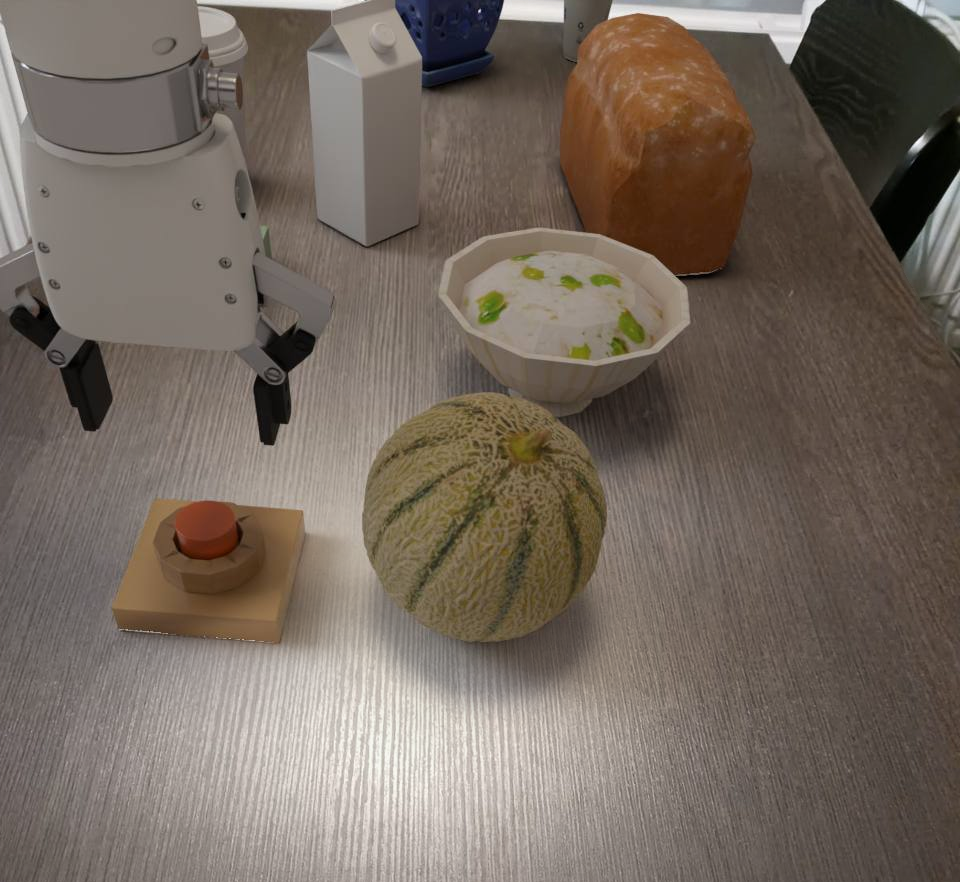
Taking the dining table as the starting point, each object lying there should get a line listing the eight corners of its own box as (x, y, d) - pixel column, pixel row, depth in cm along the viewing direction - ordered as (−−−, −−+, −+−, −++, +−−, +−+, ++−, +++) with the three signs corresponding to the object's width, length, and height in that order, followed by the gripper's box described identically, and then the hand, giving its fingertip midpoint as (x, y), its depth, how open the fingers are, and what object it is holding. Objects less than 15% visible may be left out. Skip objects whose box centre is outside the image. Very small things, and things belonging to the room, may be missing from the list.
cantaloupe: (383, 511, 69) (382, 323, 57) (589, 537, 68) (628, 353, 57) (343, 674, 59) (331, 487, 48) (582, 704, 59) (627, 523, 47)
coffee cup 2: (617, 59, 127) (631, -30, 120) (583, 71, 124) (596, -19, 116) (577, 43, 130) (588, -45, 123) (543, 54, 127) (552, -35, 119)
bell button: (173, 558, 59) (167, 537, 58) (187, 518, 62) (182, 497, 60) (231, 563, 60) (228, 542, 58) (243, 523, 62) (240, 502, 60)
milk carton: (316, 220, 95) (302, -3, 80) (370, 198, 98) (366, -19, 84) (366, 249, 92) (361, 23, 77) (419, 225, 95) (424, 5, 81)
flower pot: (355, 63, 121) (352, -51, 112) (436, 42, 127) (439, -67, 118) (425, 100, 115) (427, -16, 106) (505, 76, 121) (514, -35, 112)
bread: (595, 280, 91) (626, 102, 79) (550, 155, 108) (569, -7, 96) (736, 280, 93) (786, 106, 81) (670, 157, 109) (704, -2, 97)
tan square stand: (118, 631, 60) (103, 587, 57) (160, 521, 66) (149, 476, 63) (279, 644, 60) (273, 601, 57) (305, 533, 67) (301, 489, 64)
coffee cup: (169, 167, 100) (140, 0, 88) (264, 168, 101) (247, 4, 89) (160, 211, 94) (128, 39, 82) (261, 213, 95) (242, 43, 83)
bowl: (634, 494, 72) (663, 380, 64) (395, 424, 75) (395, 308, 67) (689, 358, 84) (719, 249, 76) (481, 304, 87) (489, 193, 79)
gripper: (335, 77, 43) (350, 395, 57) (-53, 43, 43) (52, 371, 56) (309, 149, 39) (331, 479, 52) (-129, 112, 38) (5, 454, 51)
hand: (186, 423), depth 54 cm, fingers open, 9 cm apart
